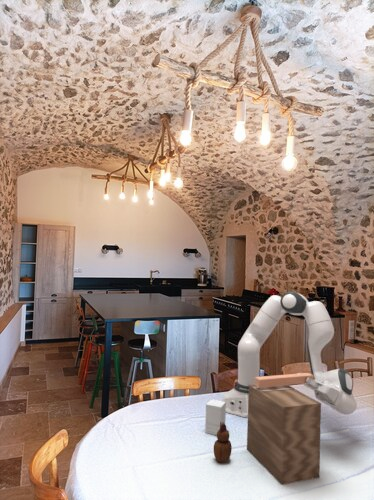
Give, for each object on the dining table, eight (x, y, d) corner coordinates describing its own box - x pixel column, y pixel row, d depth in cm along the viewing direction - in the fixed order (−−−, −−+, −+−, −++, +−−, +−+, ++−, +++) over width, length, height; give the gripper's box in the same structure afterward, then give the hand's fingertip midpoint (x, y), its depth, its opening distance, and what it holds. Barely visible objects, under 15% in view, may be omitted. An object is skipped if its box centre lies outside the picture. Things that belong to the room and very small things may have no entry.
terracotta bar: (308, 379, 149) (308, 372, 149) (313, 382, 146) (313, 375, 146) (254, 384, 140) (254, 377, 140) (259, 387, 137) (259, 379, 137)
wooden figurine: (218, 466, 130) (220, 424, 131) (210, 458, 135) (212, 418, 136) (233, 462, 133) (235, 421, 134) (225, 454, 138) (226, 415, 139)
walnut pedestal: (280, 444, 148) (281, 381, 149) (319, 477, 125) (321, 402, 127) (246, 449, 143) (248, 384, 144) (281, 484, 120) (283, 406, 122)
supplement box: (225, 430, 160) (226, 401, 160) (220, 436, 153) (221, 407, 153) (210, 426, 163) (211, 398, 163) (204, 432, 156) (205, 403, 157)
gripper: (312, 377, 160) (290, 363, 156) (346, 393, 141) (322, 377, 137) (306, 390, 159) (284, 376, 155) (340, 407, 139) (315, 392, 136)
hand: (302, 377), depth 146 cm, fingers closed on terracotta bar, 3 cm apart
